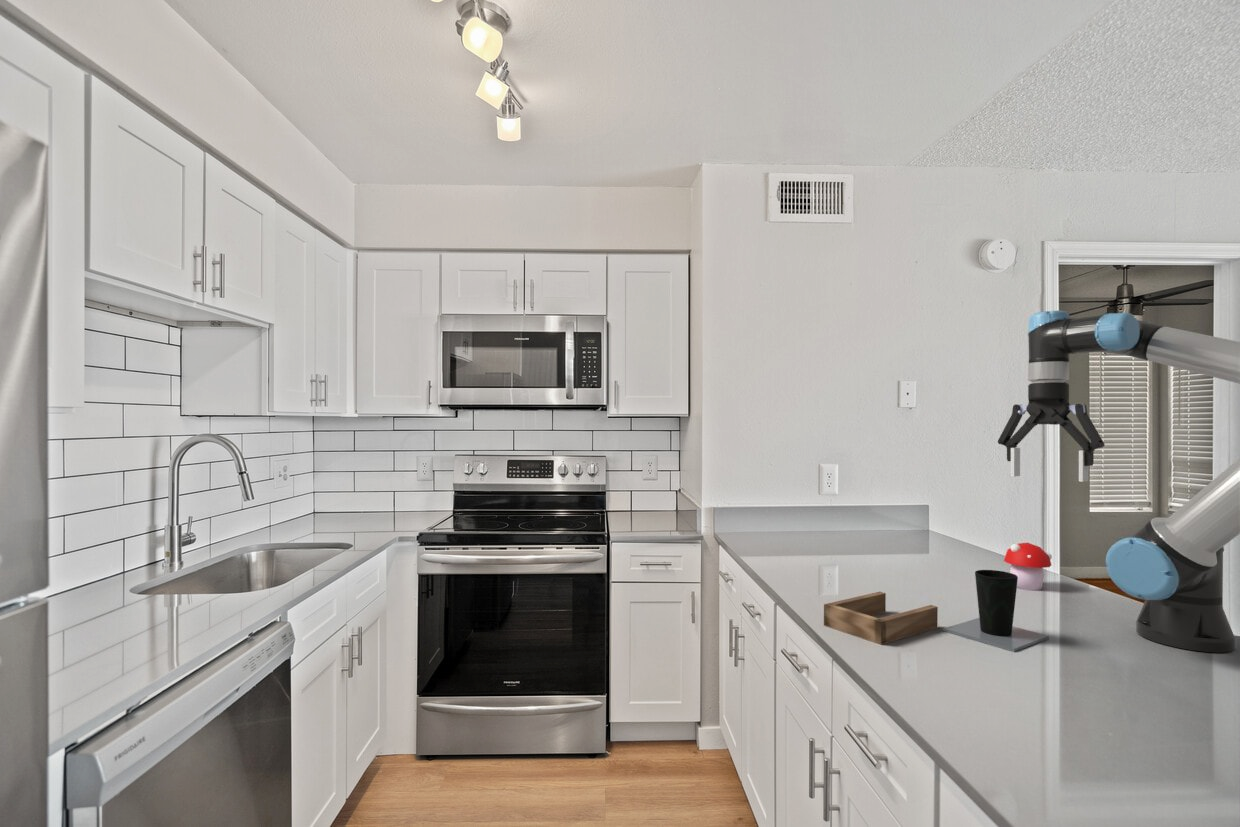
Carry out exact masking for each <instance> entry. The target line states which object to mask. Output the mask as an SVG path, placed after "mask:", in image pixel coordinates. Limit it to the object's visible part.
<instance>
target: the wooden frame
mask: <svg viewBox="0 0 1240 827" xmlns="http://www.w3.org/2000/svg"><path fill="white" fill-rule="evenodd" d="M886 596H887V594H886V592H883V591H876V592H871V593H868V594H863V595H858V596H854V597H850V598H846V599H842V600H837V601H833V602H827V603H824V604H823V626H826V627H828V628H831V629H834V630H837V631H839V632H843V633H846V634H849V635H851V636H855V637H857V638H860V639H863V640H866V641H869V642H872V643H875V644H878V645H884V644H889V643H891V642H895V641H898V640H901V639H904V638H908V637H911V636H914V635H917V634H922V633H925V632H928V631H930V630H934V629H935V630H936V629H938V623H939V622H938V617H939V616H938V615H939V614H938V609H939V607H938V606H937V605H932V604H930V605H926V606H922V607H918V608H914V609H910V610H907V611H903V612H900V613H896V614H891V615H888V616H884V617H880V618H878V617H875V616H878V615H881V614H885V613H886V610H887V609H886V598H887V597H886Z"/></svg>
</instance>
